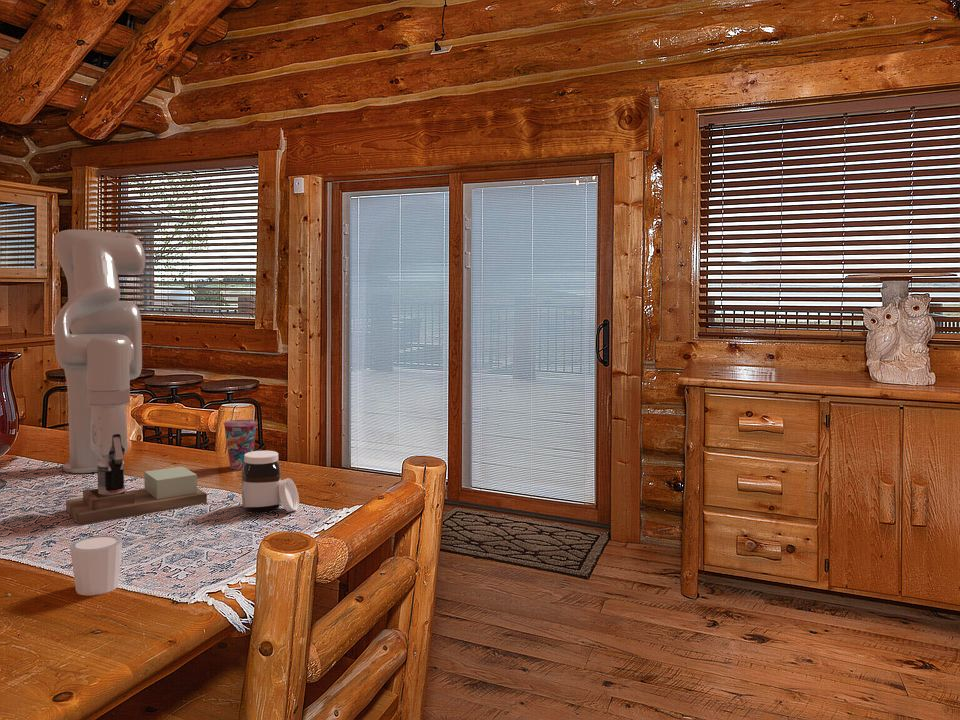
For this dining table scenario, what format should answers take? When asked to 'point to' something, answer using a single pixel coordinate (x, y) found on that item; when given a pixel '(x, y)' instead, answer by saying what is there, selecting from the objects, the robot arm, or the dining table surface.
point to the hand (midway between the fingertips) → (111, 485)
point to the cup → (239, 440)
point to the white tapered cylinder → (96, 564)
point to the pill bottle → (101, 477)
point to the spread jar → (266, 484)
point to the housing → (125, 504)
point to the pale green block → (170, 482)
